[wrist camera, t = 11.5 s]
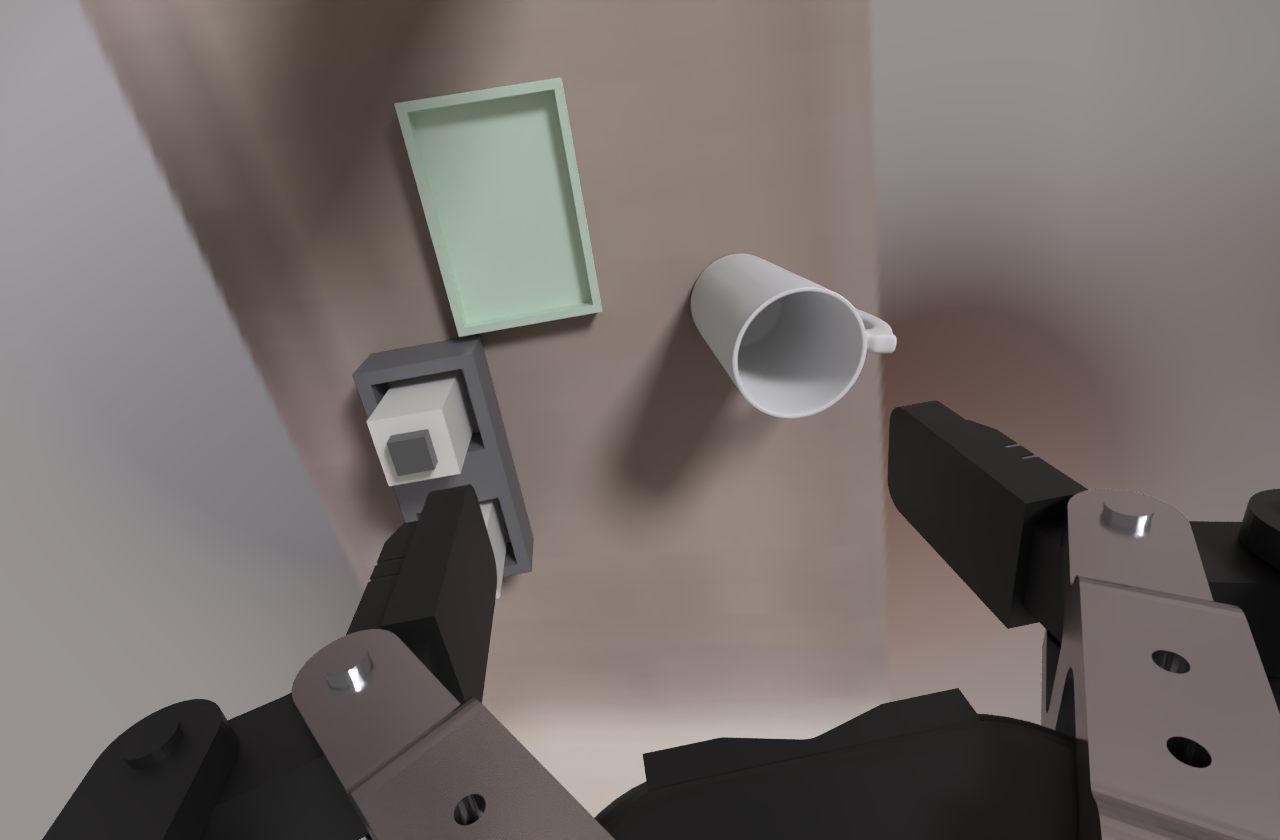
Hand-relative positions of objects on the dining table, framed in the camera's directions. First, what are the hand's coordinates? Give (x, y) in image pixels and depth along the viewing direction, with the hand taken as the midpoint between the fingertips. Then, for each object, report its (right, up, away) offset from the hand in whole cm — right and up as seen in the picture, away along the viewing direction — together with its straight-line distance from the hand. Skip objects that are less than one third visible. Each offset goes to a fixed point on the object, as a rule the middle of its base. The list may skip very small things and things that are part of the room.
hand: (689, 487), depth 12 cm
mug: (+7, +9, +30) cm, 32 cm away
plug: (-14, +3, +29) cm, 32 cm away
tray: (-9, +14, +26) cm, 30 cm away
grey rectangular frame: (-14, -1, +31) cm, 34 cm away
